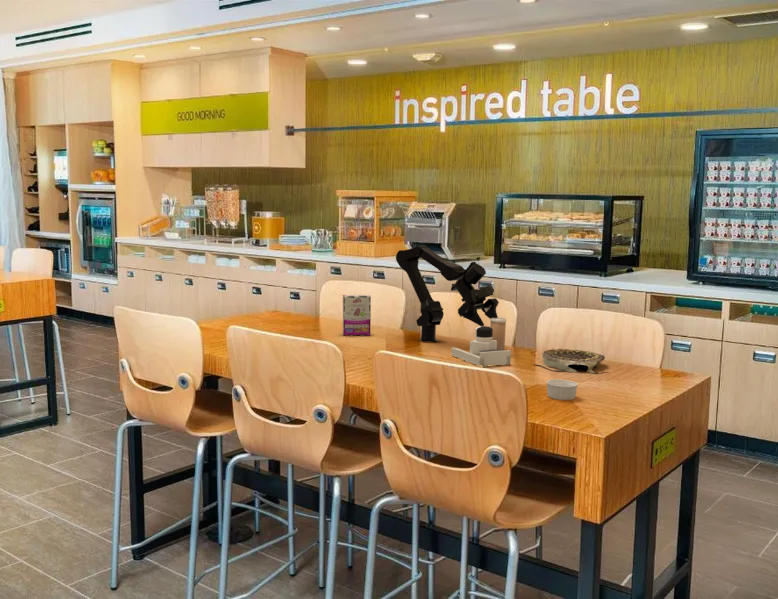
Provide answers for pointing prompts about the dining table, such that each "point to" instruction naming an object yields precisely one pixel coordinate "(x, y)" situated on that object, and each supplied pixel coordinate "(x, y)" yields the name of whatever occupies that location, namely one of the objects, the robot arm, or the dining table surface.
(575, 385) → the ramekin
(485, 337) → the medicine bottle
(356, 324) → the candy bar box
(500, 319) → the spice jar
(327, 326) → the dining table surface
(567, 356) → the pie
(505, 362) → the lane
